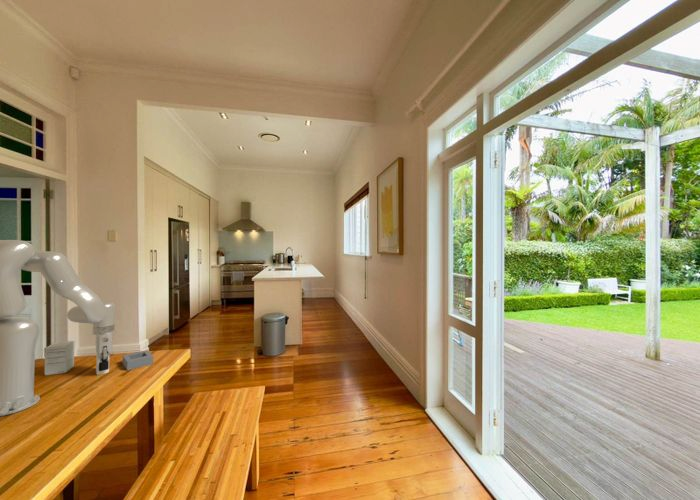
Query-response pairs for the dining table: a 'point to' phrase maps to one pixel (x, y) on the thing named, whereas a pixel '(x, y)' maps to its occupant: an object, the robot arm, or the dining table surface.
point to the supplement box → (59, 357)
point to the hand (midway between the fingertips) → (102, 367)
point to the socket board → (137, 359)
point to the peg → (98, 365)
